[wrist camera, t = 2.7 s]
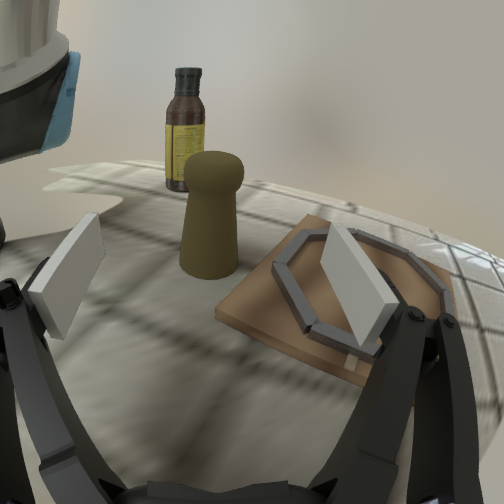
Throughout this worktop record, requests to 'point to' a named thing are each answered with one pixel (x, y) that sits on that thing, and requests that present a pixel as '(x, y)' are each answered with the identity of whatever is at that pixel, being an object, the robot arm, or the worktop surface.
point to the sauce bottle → (183, 126)
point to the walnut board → (318, 303)
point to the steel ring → (306, 314)
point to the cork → (211, 215)
